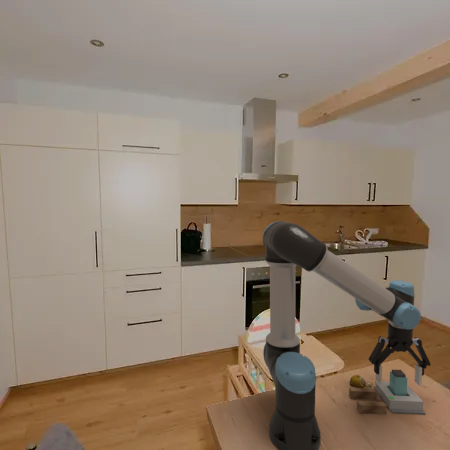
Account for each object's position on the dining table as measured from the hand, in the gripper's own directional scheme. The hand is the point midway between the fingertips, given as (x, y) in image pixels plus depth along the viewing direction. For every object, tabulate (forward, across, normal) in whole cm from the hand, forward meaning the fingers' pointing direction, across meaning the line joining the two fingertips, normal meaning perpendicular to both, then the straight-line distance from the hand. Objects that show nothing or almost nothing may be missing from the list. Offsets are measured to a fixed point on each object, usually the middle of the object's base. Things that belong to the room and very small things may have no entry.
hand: (398, 382), depth 104 cm
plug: (+6, 0, 0) cm, 6 cm away
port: (+7, 0, 0) cm, 7 cm away
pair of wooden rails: (+7, -12, -3) cm, 14 cm away
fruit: (+7, -9, +7) cm, 14 cm away
